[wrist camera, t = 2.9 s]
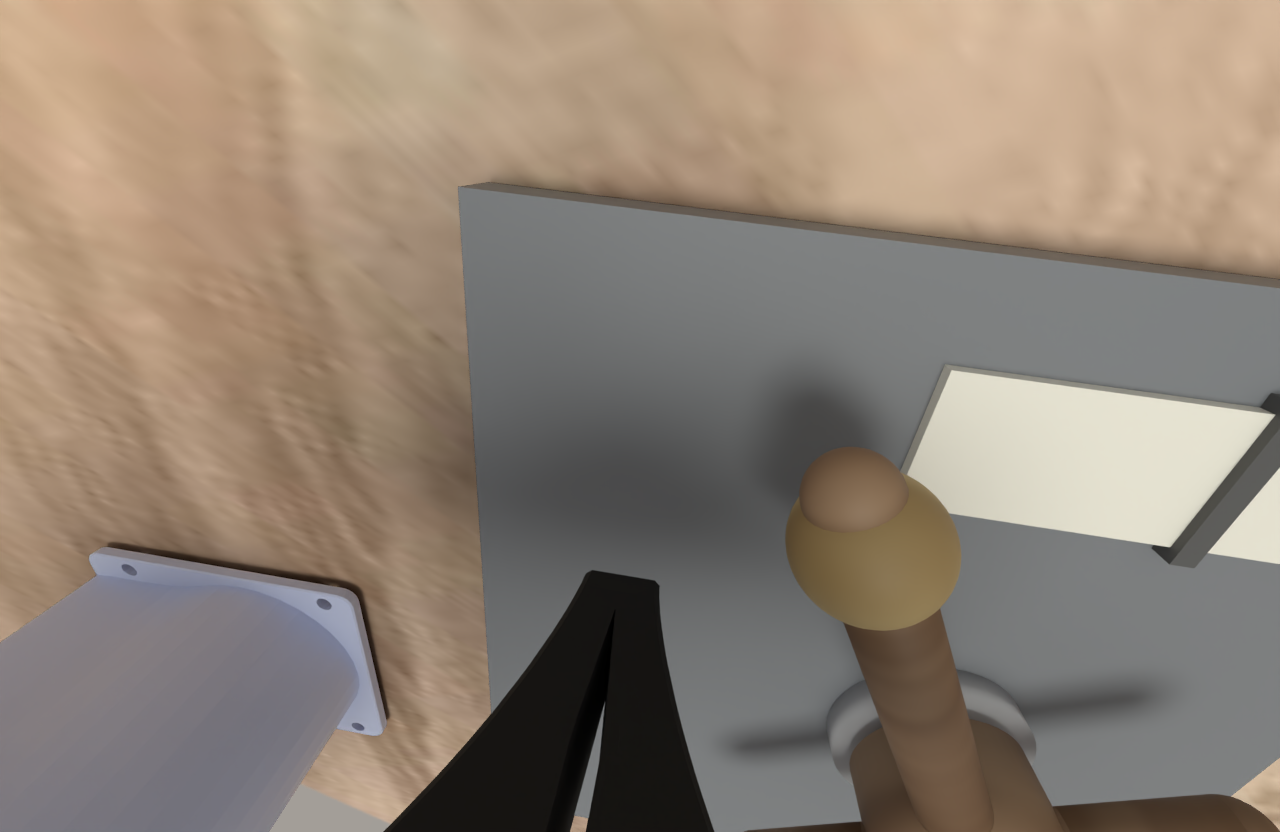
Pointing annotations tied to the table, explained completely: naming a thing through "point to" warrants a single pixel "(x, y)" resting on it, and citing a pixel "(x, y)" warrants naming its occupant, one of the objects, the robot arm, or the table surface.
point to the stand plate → (919, 447)
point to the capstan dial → (933, 672)
